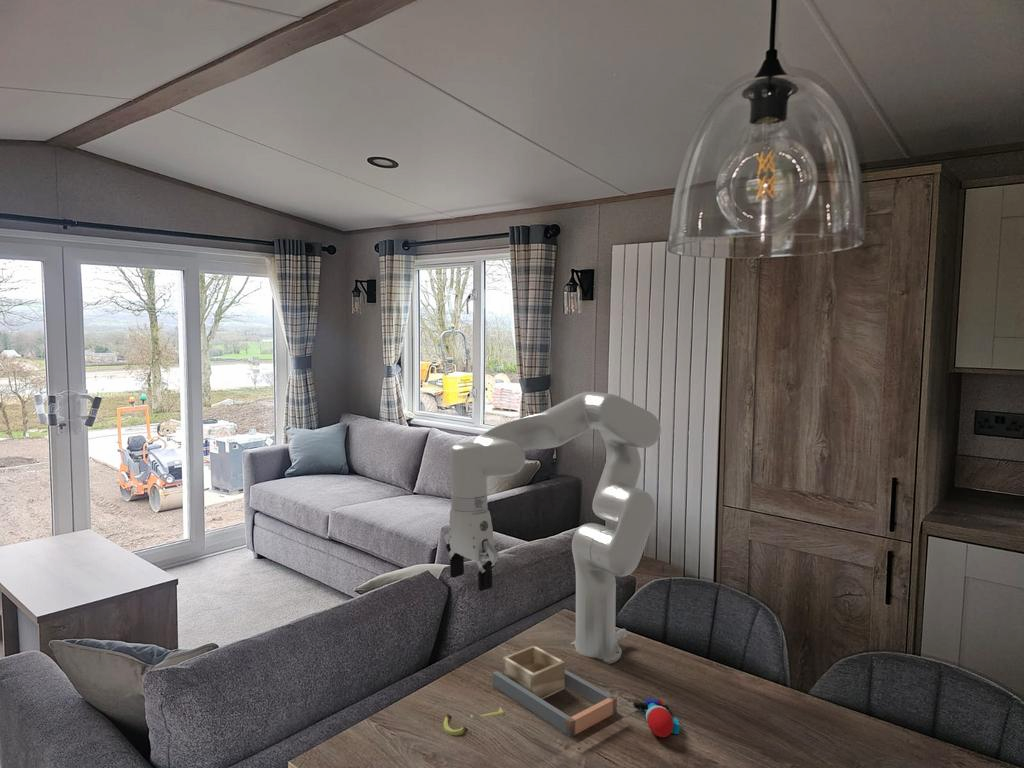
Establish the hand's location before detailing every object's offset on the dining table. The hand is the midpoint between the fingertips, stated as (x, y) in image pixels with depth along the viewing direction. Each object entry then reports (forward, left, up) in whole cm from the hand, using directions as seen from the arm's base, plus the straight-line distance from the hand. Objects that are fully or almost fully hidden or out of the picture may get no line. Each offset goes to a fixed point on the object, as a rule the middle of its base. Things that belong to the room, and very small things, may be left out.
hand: (470, 582), depth 142 cm
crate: (-11, +7, -24) cm, 27 cm away
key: (+5, +7, -26) cm, 27 cm away
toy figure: (-23, +31, -26) cm, 46 cm away
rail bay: (-11, +13, -25) cm, 31 cm away
